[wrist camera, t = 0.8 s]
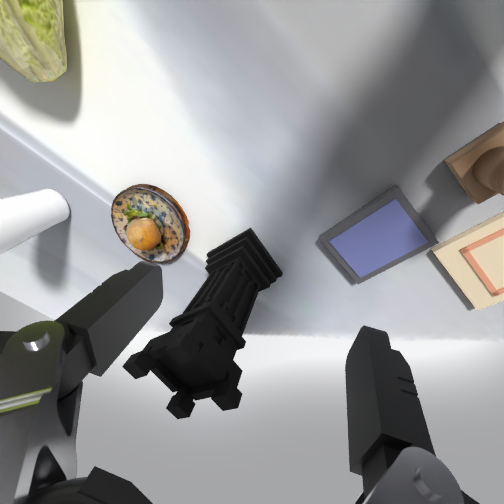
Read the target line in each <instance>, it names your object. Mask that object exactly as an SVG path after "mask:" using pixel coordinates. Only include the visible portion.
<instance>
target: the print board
mask: <svg viewBox="0 0 504 504" xmlns="http://www.w3.org/2000/svg"><path fill="white" fill-rule="evenodd" d="M431 250H432V251H433V252H434V254H435V255H436V256H437V258H438V259H439V260H440V262H441V263H442V264H443V266H444V267H445V268H446V270H447V271H448V272H449V274H450V275H451V276H452V278H453V279H454V280H455V282H456V283H457V284H458V286H459V287H460V288H461V290H462V291H463V292H464V294H465V295H466V296H467V298H468V299H469V300H470V302H471V303H472V304H473V306H474V307H475V308H476V310H480V309H482V308H485V307H488V306H491V305H493V304H496V303H499V302H501V301H504V212H502V213H500V214H498V215H496V216H495V217H493V218H491V219H489V220H487V221H485V222H483V223H481V224H479V225H477V226H475V227H473V228H471V229H469V230H467V231H465V232H463V233H461V234H459V235H457V236H455V237H453V238H451V239H449V240H448V241H446V242H444V243H442V244H440V245H438V246H436V247H434V248H432V249H431Z"/></svg>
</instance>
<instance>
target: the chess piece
mask: <svg viewBox="0 0 504 504" xmlns="http://www.w3.org/2000/svg"><path fill="white" fill-rule="evenodd" d="M207 256H208V257H209V258H208V259H207V260H206V262H207V264H208V265H207V266H206V268H205V269H206V270H207V272H208V273H209V274H210V275H209V277H208V278H207V280H206V281H205V282H204V284H203V285H202V287H201V288H200V289H199V291H198V292H197V294H196V295H195V297H194V298H193V299H192V301H191V302H190V304H189V305H188V307H187V308H186V309H185V311H184V312H183V314H181V315H179V316H177V317H175V318H173V319H172V320H171V322H170V323H169V324H170V325H171V326H172V327H173V328H172V329H171V331H170V332H168V333H165V334H163V335H161V336H159V337H156V338H154V339H151V340H150V341H149V342H148V344H147V345H146V346H145V348H144V349H143V350H142V351H141V352H138V353H136V354H133V355H131V356H130V358H129V359H128V360H127V361H126V363H125V364H124V365H123V368H124V369H125V370H126V371H128V372H129V373H130V374H131V375H132V376H133V377H134V378H135V379H137V378H140V377H143V376H146V375H147V374H148V372H149V371H150V370H151V371H152V372H153V373H154V374H155V375H156V376H157V377H158V378H159V379H160V380H161V381H162V382H163V383H164V384H165V385H166V386H167V387H168V388H169V389H170V390H171V391H172V392H175V391H177V393H176V395H174V396H172V398H171V400H170V402H169V404H168V406H167V408H166V409H167V410H169V411H170V412H171V413H172V414H173V415H174V416H175V417H176V418H177V419H180V418H186V417H190V415H191V412H192V410H193V408H194V406H195V403H194V402H193V399H195V400H200V399H204V398H209V397H211V399H212V400H213V401H214V402H215V403H216V404H217V405H218V406H219V407H220V408H221V409H222V410H223V411H225V410H230V409H235V408H238V406H239V403H240V400H241V396H242V393H241V392H240V391H239V390H238V389H237V386H238V383H239V380H240V377H241V374H242V370H241V369H240V368H239V366H238V365H237V364H236V363H235V362H234V361H233V359H234V356H235V353H236V351H237V350H239V349H242V348H244V346H245V343H246V341H245V340H244V339H243V338H242V335H243V332H244V329H245V327H246V324H247V321H248V319H249V316H250V313H251V311H252V308H253V305H254V303H255V300H256V297H257V295H258V292H259V291H262V290H264V289H266V288H269V287H270V284H271V283H273V282H275V281H276V279H277V278H278V277H281V276H282V271H281V270H280V269H279V267H278V266H277V264H276V263H275V261H274V260H273V259H272V257H271V256H270V254H269V253H268V251H267V250H266V249H265V247H264V246H263V244H262V243H261V241H260V240H259V239H258V237H257V236H256V234H255V233H254V232H253V230H252V229H251V228H250V229H248V230H246V231H244V232H243V233H241V234H239V235H237V236H236V237H234V238H232V239H231V240H229V241H227V242H225V243H224V244H222V245H220V246H218V247H217V248H215V249H213V250H212V251H210V252H208V254H207Z"/></svg>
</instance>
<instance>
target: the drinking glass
mask: <svg viewBox="0 0 504 504" xmlns="http://www.w3.org/2000/svg"><path fill="white" fill-rule="evenodd" d="M69 213H70V210H69V206H68V203H67V202H66V200H65V199H64V197H63V196H62V195H61V194H59V193H58V192H56V191H54V190H52V189H42V190H39V191H35V192H31V193H26V194H21V195H16V196H11V197H6V198H1V199H0V255H1V254H2V253H4V252H6V251H8V250H10V249H12V248H14V247H15V246H17V245H19V244H21V243H23V242H24V241H26V240H28V239H30V238H32V237H34V236H35V235H37V234H39V233H41V232H43V231H45V230H46V229H48V228H50V227H52V226H54V225H56V224H58V223H60V222H63V221H65V220H66V219H67V218H68V216H69Z"/></svg>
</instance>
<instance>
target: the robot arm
mask: <svg viewBox="0 0 504 504" xmlns="http://www.w3.org/2000/svg"><path fill="white" fill-rule="evenodd" d="M162 299H163V282H162V269H161V267H160V266H158V265H154V264H151V263H147V262H144V261H141V262H139V263H138V264H136V265H135V266H134V267H133V268H132V269H130V270H124V271H121V272H119V273H117V274H114V275H112V276H111V277H110V278H108V279H107V280H106V281H105V282H103V283H102V285H101V286H98V287H97V288H96V289H94V290H93V292H92V293H89V294H88V295H87V296H86V297H84V298H83V299H82V300H80V301H79V302H78V303H77V304H75V305H74V306H73V307H72V308H70V309H69V310H68V311H67V312H65V313H64V314H63V315H61V316H60V317H59V318H58V319H56V320H55V321H40V322H36V323H32V324H30V325H27V326H25V327H23V328H21V329H20V330H18V331H17V332H13V331H0V504H152V502H150V500H148V498H147V497H146V496H145V495H144V494H143V493H142V492H141V491H139V490H138V489H137V488H136V487H135V486H134V485H133V484H132V483H131V482H130V481H127V480H125V479H123V478H121V477H118V476H116V475H114V474H111V473H109V472H107V471H105V470H102V469H100V468H97V467H94V468H93V470H92V471H91V473H90V474H89V476H88V477H83V478H76V475H77V455H76V433H77V425H78V418H79V410H80V402H81V394H82V386H83V382H82V380H83V379H84V378H85V376H86V375H87V374H88V373H92V374H94V375H97V376H100V377H101V376H102V374H104V372H105V371H106V370H107V369H108V368H109V366H110V365H111V364H112V363H113V362H114V360H115V359H116V358H117V357H118V356H119V355H120V353H121V352H122V351H123V350H124V349H125V348H126V346H127V345H128V344H129V343H130V341H131V340H132V339H133V338H134V337H135V336H136V334H137V333H138V332H139V331H140V330H141V329H142V327H143V326H144V325H145V324H146V323H147V321H148V320H149V319H150V318H151V317H152V316H153V314H154V313H155V312H156V311H157V310H158V308H159V307H160V305H161V302H162ZM345 371H346V394H347V416H348V438H349V439H348V440H349V463H350V472H353V473H356V474H358V475H361V476H363V489H364V490H363V491H362V492H361V493H360V494H359V496H358V497H357V499H356V500H355V502H354V503H353V504H479V503H478V502H476V501H475V500H474V499H472V498H471V497H469V496H468V495H467V494H465V493H464V492H463V491H462V490H461V489H460V487H459V484H458V483H457V481H456V479H455V477H454V476H453V475H452V473H451V472H450V471H449V469H448V468H447V467H446V466H445V465H444V464H443V463H442V462H441V460H439V459H438V458H437V457H436V455H435V452H434V449H433V446H432V442H431V439H430V435H429V432H428V428H427V425H426V421H425V418H424V414H423V411H422V408H421V404H420V401H419V398H418V397H417V395H418V393H417V390H416V386H415V385H414V380H413V376H412V373H411V369H410V366H409V365H408V363H407V362H406V360H405V359H404V357H403V356H402V354H401V353H400V352H399V351H396V350H393V349H391V346H390V341H389V337H388V334H387V333H386V332H385V331H381V330H378V329H374V328H371V327H367V326H363V327H362V328H361V329H360V331H359V333H358V335H357V337H356V339H355V341H354V343H353V345H352V347H351V349H350V351H349V353H348V356H347V360H346V367H345Z"/></svg>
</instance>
